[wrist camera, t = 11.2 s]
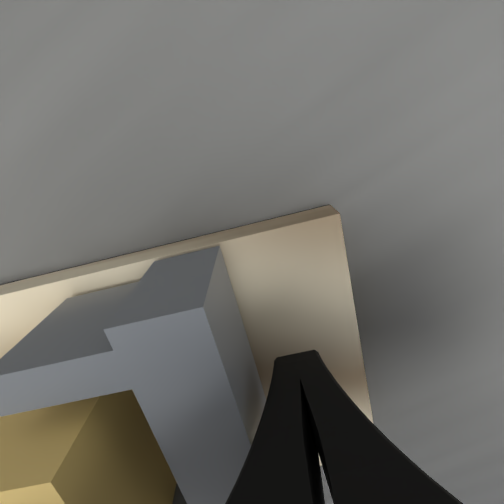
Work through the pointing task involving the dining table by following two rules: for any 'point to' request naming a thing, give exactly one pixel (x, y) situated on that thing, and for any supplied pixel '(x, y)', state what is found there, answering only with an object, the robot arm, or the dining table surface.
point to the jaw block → (83, 455)
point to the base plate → (238, 292)
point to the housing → (154, 366)
